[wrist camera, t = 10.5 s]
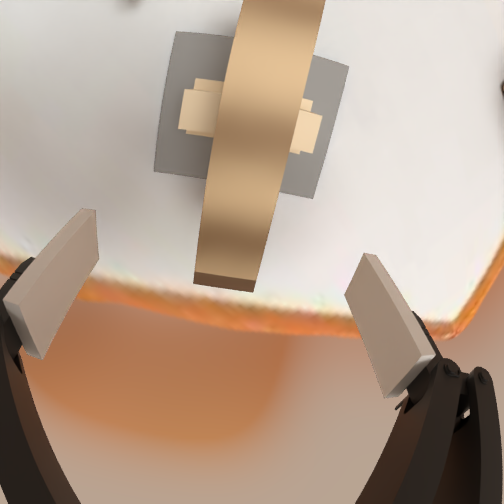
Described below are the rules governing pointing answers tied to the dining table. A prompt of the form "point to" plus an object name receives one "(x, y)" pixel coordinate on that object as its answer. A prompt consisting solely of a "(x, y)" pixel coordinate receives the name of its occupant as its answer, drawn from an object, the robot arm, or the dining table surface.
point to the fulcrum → (207, 106)
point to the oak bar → (254, 137)
